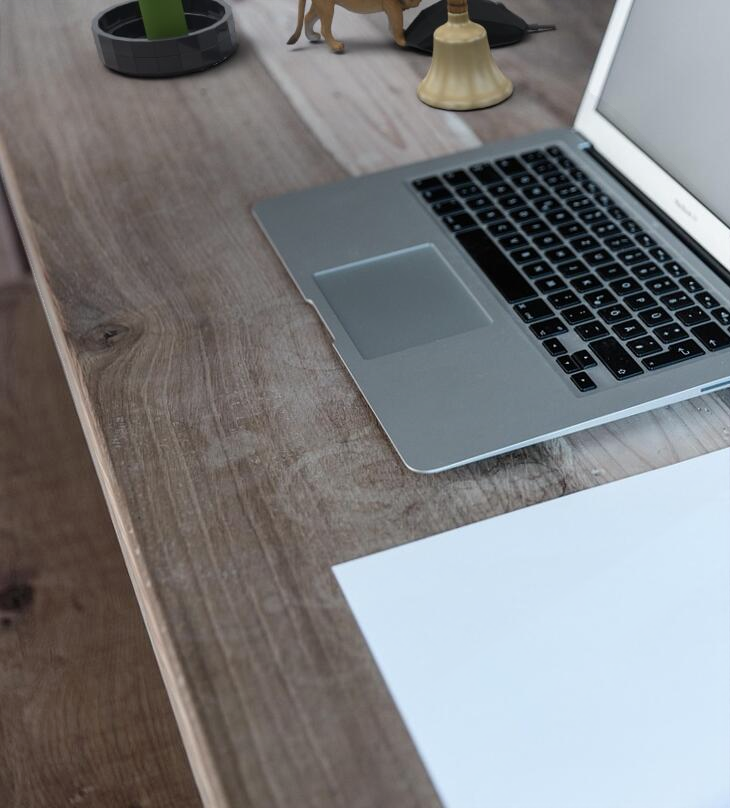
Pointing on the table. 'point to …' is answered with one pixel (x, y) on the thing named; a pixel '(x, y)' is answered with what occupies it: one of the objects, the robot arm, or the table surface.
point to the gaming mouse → (481, 11)
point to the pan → (164, 39)
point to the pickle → (163, 18)
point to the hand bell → (462, 66)
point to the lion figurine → (323, 4)
